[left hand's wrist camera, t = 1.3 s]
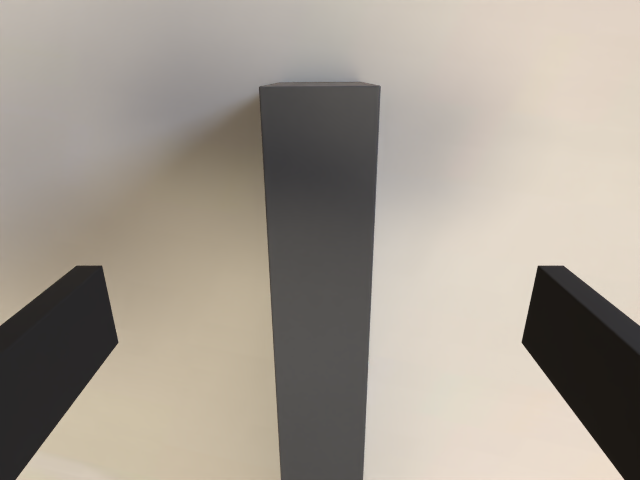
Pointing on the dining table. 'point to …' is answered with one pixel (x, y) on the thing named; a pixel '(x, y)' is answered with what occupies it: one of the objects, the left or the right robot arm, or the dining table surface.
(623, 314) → the left robot arm
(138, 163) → the dining table surface
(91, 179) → the dining table surface
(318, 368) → the bar
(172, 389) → the dining table surface
